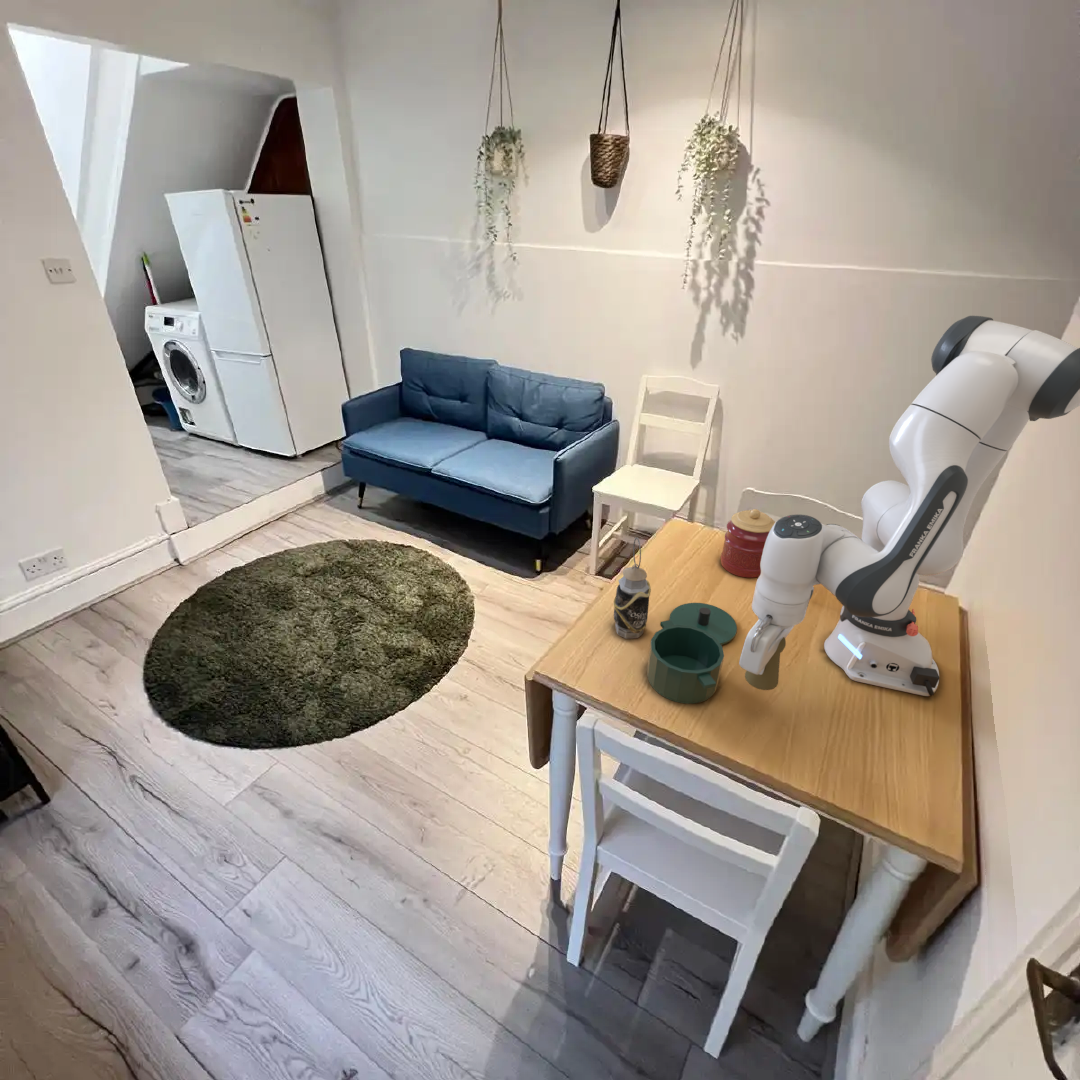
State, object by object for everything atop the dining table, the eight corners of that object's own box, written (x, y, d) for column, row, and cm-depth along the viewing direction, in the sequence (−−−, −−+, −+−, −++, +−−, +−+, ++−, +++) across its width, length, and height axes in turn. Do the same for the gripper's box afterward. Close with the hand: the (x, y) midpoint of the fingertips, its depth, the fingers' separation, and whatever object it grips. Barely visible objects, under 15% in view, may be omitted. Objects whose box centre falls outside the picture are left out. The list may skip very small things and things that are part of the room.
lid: (715, 602, 146) (718, 587, 143) (749, 641, 133) (752, 626, 130) (658, 611, 143) (660, 596, 140) (687, 653, 130) (690, 637, 127)
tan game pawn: (780, 692, 106) (792, 646, 101) (746, 688, 107) (756, 643, 102) (775, 669, 112) (786, 625, 106) (742, 665, 113) (752, 621, 107)
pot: (690, 642, 133) (695, 612, 128) (737, 705, 116) (745, 674, 112) (631, 653, 130) (635, 623, 125) (671, 720, 113) (676, 688, 109)
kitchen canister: (737, 548, 168) (748, 494, 159) (777, 567, 160) (791, 511, 151) (710, 563, 161) (720, 508, 152) (750, 584, 152) (764, 526, 143)
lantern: (649, 641, 133) (661, 549, 120) (614, 642, 133) (622, 550, 120) (641, 617, 140) (651, 529, 128) (608, 619, 140) (615, 530, 127)
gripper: (774, 641, 92) (759, 703, 99) (817, 583, 105) (801, 641, 112) (736, 625, 95) (724, 686, 102) (783, 571, 109) (769, 628, 116)
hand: (765, 662), depth 107 cm, fingers closed on tan game pawn, 4 cm apart
